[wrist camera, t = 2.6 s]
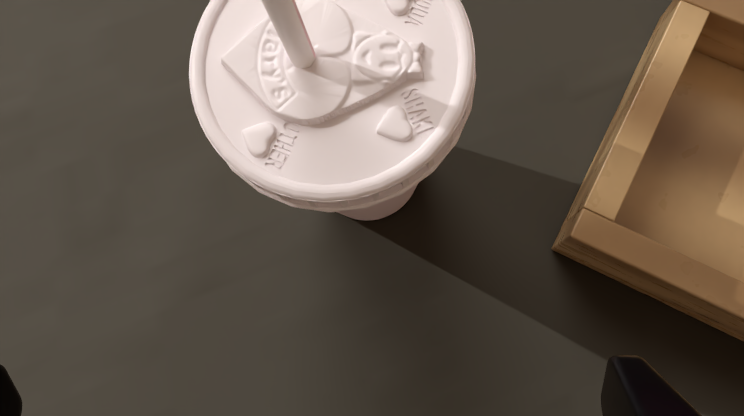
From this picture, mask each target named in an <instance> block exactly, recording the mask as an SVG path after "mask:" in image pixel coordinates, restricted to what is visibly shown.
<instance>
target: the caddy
mask: <svg viewBox="0 0 744 416" xmlns="http://www.w3.org/2000/svg"><path fill="white" fill-rule="evenodd" d="M552 250H553V251H556V252H558V253H560V254H562V255H564V256H566V257H568V258H570V259H572V260H574V261H576V262H579V263H581V264H583V265H585V266H587V267H589V268H591V269H593V270H595V271H597V272H599V273H601V274H604V275H606V276H608V277H610V278H612V279H614V280H616V281H618V282H620V283H622V284H624V285H627V286H629V287H631V288H633V289H635V290H637V291H639V292H641V293H643V294H645V295H647V296H650V297H652V298H654V299H656V300H658V301H660V302H662V303H664V304H666V305H668V306H670V307H672V308H675V309H677V310H679V311H681V312H683V313H685V314H687V315H689V316H691V317H693V318H695V319H698V320H700V321H702V322H704V323H706V324H708V325H710V326H712V327H714V328H716V329H718V330H721V331H723V332H725V333H727V334H729V335H731V336H733V337H735V338H737V339H739V340H741V341H743V342H744V0H673V1H672V3H671V4H670V5H669V7H668V8H667V9H666V11H665V12H664V13H663V15H662V16H661V18H660V19H659V21H658V23H657V25H656V28H655V30H654V32H653V34H652V36H651V38H650V40H649V42H648V45H647V47H646V49H645V51H644V53H643V55H642V57H641V59H640V62H639V64H638V66H637V68H636V70H635V72H634V74H633V76H632V78H631V81H630V83H629V85H628V87H627V89H626V91H625V93H624V95H623V98H622V100H621V102H620V104H619V106H618V108H617V110H616V112H615V115H614V117H613V119H612V121H611V123H610V125H609V127H608V129H607V132H606V134H605V136H604V138H603V140H602V142H601V144H600V146H599V148H598V151H597V153H596V155H595V157H594V159H593V161H592V163H591V165H590V168H589V170H588V172H587V174H586V176H585V178H584V180H583V182H582V185H581V187H580V189H579V191H578V193H577V195H576V197H575V199H574V202H573V204H572V206H571V208H570V210H569V212H568V214H567V216H566V218H565V221H564V223H563V225H562V227H561V229H560V231H559V233H558V235H557V238H556V240H555V242H554V244H553V246H552Z"/></svg>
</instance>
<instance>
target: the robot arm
mask: <svg viewBox="0 0 744 416" xmlns="http://www.w3.org/2000/svg"><path fill="white" fill-rule="evenodd" d="M601 407H602V413H603V416H702V415H701V414H700V413H699V412H697V411H696V410H695V409H694V408H693V407H692V406H691V405H690V404H689V403H688V402H687V401H686V400H685V399H684V398H683V397H682V396H681V395H680V394H679V393H678V392H677V391H676V390H675V389H674V388H673V387H672V386H671V385H670V384H669V383H668V382H667V381H666V380H665V379H664V378H663V377H662V376H661V375H660V374H659V373H658V372H657V371H655V370H654V369H653V368H652V367H651V366H650V365H649V364H648V363H647V362H646V361H645V360H644V359H643V358H641V357H640V356H636V355H617V356H612V357H610V358H609V360H608V362H607V367H606V372H605V377H604V383H603V388H602V393H601ZM21 412H22V400H21V397H20V395H19V393H18V391H17V389H16V387H15V386H14V384H13V382H12V380H11V378H10V376H9V375H8V373H7V371H6V369H5V368H4V367H3V366H2V365H0V416H21Z"/></svg>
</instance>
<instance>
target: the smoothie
mask: <svg viewBox="0 0 744 416" xmlns="http://www.w3.org/2000/svg"><path fill="white" fill-rule="evenodd" d="M189 80H190V90H191V96H192V101H193V105H194V109H195V112H196V115H197V117H198V120H199V122H200V125H201V127H202V129H203V131H204V133H205V135H206V136H207V138H208V140H209V141H210V143H211V144H212V145H213V147H214V148H215V150H216V151H217V152H218V153H219V154H220V156H221V157H222V158H223V159H224V160H225V161H226V163H227V164H228V166H229V167H230V168H231V170H232V171H233V172H235V173H236V174H237V175H238V176H239V177H241V178H242V179H243V180H244V181H246V182H247V183H248V184H249V185H251V186H252V187H253V188H254V189H255V190H257V191H258V192H259V193H261V194H264V195H266V196H268V197H271V198H273V199H275V200H277V201H280V202H282V203H284V204H287V205H289V206H291V207H295V208H302V209H309V210H316V211H323V212H337V213H340V214H342V215H344V216H347V217H349V218H353V219H357V220H365V221H367V220H377V219H381V218H384V217H387V216H389V215H391V214H393V213H395V212H396V211H398V210H399V209H400V208H401V207H403V206H404V205H405V204H406V202H407V201H408V200H409V199H410V197H411V196H412V194H413V192H414V190H415V189H416V187H417V185H418V183H419V182H420V181H422V180H423V179H424V178H426V177H427V176H428V175H430V174H431V173H433V172H434V170H435V169H436V168H437V167H438V165H439V164H440V163H441V162H442V161H443V159H444V158H445V157H446V156H447V154H448V153H449V152H450V151H451V149H452V148H453V147H454V146H455V145H456V143H457V141H458V139H459V137H460V134H461V132H462V130H463V128H464V125H465V123H466V121H467V118H468V116H469V114H470V112H471V108H472V101H473V94H474V87H475V80H476V70H475V47H474V41H473V34H472V30H471V27H470V23H469V20H468V17H467V14H466V12H465V9H464V7H463V5H462V3H461V1H460V0H211V1H210V2H209V4H208V6H207V7H206V9H205V11H204V13H203V15H202V17H201V20H200V22H199V24H198V27H197V30H196V33H195V36H194V40H193V44H192V48H191V55H190V64H189Z"/></svg>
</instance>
